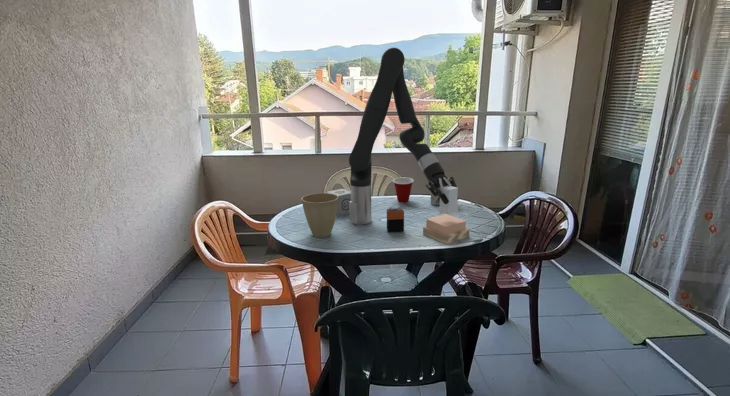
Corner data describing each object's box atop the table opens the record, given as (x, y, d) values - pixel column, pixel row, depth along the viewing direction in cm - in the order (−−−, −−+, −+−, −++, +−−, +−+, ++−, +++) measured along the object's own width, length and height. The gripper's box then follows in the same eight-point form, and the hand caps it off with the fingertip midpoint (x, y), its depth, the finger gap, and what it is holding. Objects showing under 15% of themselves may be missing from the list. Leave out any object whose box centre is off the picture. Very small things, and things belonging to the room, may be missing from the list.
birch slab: (446, 245, 143) (447, 237, 142) (422, 235, 154) (423, 227, 153) (468, 237, 151) (469, 229, 150) (444, 228, 161) (445, 220, 160)
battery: (386, 228, 160) (386, 206, 157) (402, 228, 161) (402, 205, 158) (388, 232, 156) (388, 209, 153) (404, 231, 156) (404, 209, 154)
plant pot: (346, 236, 153) (344, 198, 148) (311, 244, 145) (309, 204, 141) (330, 225, 165) (329, 190, 161) (298, 232, 158) (296, 195, 154)
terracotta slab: (444, 235, 144) (445, 226, 143) (426, 226, 153) (426, 218, 152) (465, 229, 150) (465, 221, 149) (446, 221, 159) (446, 213, 158)
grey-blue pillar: (448, 214, 146) (449, 189, 143) (439, 211, 150) (440, 187, 147) (456, 212, 148) (458, 187, 146) (447, 209, 152) (448, 185, 149)
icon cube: (343, 207, 190) (342, 188, 187) (354, 212, 183) (354, 192, 180) (326, 211, 184) (325, 192, 181) (337, 216, 177) (337, 196, 174)
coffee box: (431, 199, 201) (432, 170, 196) (443, 200, 200) (444, 170, 195) (430, 204, 192) (431, 174, 188) (443, 205, 191) (444, 174, 186)
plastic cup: (390, 203, 195) (390, 181, 192) (395, 198, 205) (395, 176, 202) (410, 205, 192) (411, 182, 188) (415, 199, 201) (415, 177, 198)
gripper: (422, 163, 146) (444, 200, 140) (448, 159, 154) (470, 193, 147) (413, 174, 151) (433, 210, 145) (438, 170, 159) (459, 203, 153)
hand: (452, 201), depth 146 cm, fingers closed on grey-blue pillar, 4 cm apart
